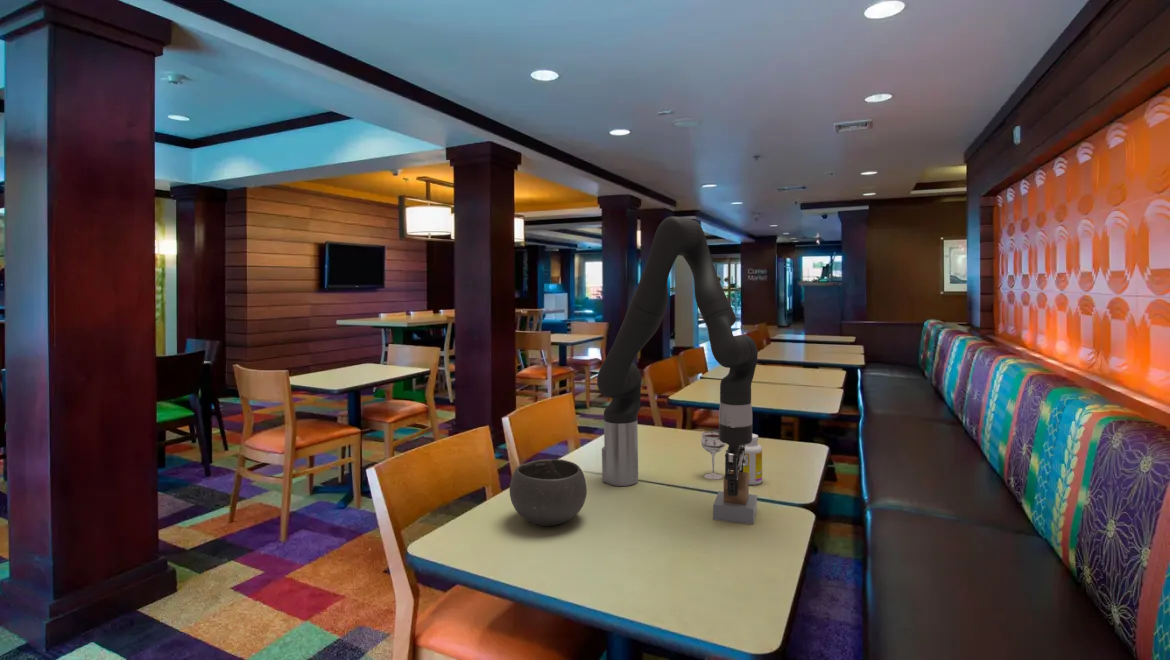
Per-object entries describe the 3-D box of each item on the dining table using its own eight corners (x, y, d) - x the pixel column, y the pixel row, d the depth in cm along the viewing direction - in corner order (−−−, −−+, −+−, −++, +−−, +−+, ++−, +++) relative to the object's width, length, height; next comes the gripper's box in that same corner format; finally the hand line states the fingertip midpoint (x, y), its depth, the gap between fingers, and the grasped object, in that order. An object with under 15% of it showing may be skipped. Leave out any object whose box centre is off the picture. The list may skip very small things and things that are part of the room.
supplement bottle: (759, 477, 165) (759, 432, 164) (764, 485, 159) (764, 438, 158) (735, 477, 166) (735, 432, 165) (738, 485, 159) (738, 438, 158)
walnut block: (723, 502, 139) (723, 477, 138) (727, 494, 143) (727, 470, 143) (745, 504, 137) (745, 479, 136) (748, 497, 141) (748, 472, 141)
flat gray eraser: (713, 521, 138) (713, 504, 138) (718, 507, 146) (718, 491, 146) (753, 526, 135) (753, 508, 134) (756, 511, 143) (757, 495, 143)
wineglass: (707, 470, 172) (706, 430, 171) (729, 475, 168) (729, 433, 167) (696, 477, 166) (696, 435, 165) (719, 482, 162) (719, 438, 161)
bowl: (543, 500, 152) (542, 452, 151) (602, 515, 141) (601, 463, 140) (494, 525, 137) (492, 471, 136) (556, 543, 127) (554, 486, 126)
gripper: (724, 413, 146) (724, 477, 148) (713, 427, 133) (713, 497, 135) (756, 415, 143) (755, 481, 145) (747, 430, 130) (747, 502, 132)
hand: (735, 489), depth 140 cm, fingers open, 8 cm apart
